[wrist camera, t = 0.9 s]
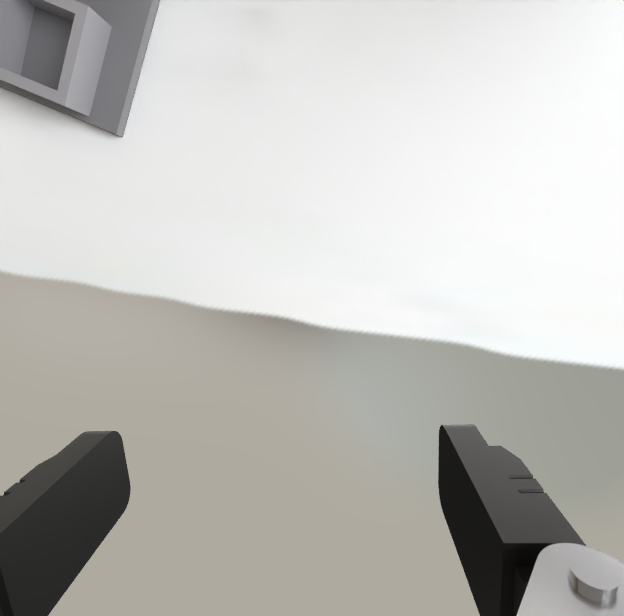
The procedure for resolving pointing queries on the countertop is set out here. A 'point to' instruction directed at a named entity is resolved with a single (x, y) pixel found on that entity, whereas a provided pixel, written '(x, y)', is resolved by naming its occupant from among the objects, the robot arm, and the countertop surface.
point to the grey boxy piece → (76, 55)
